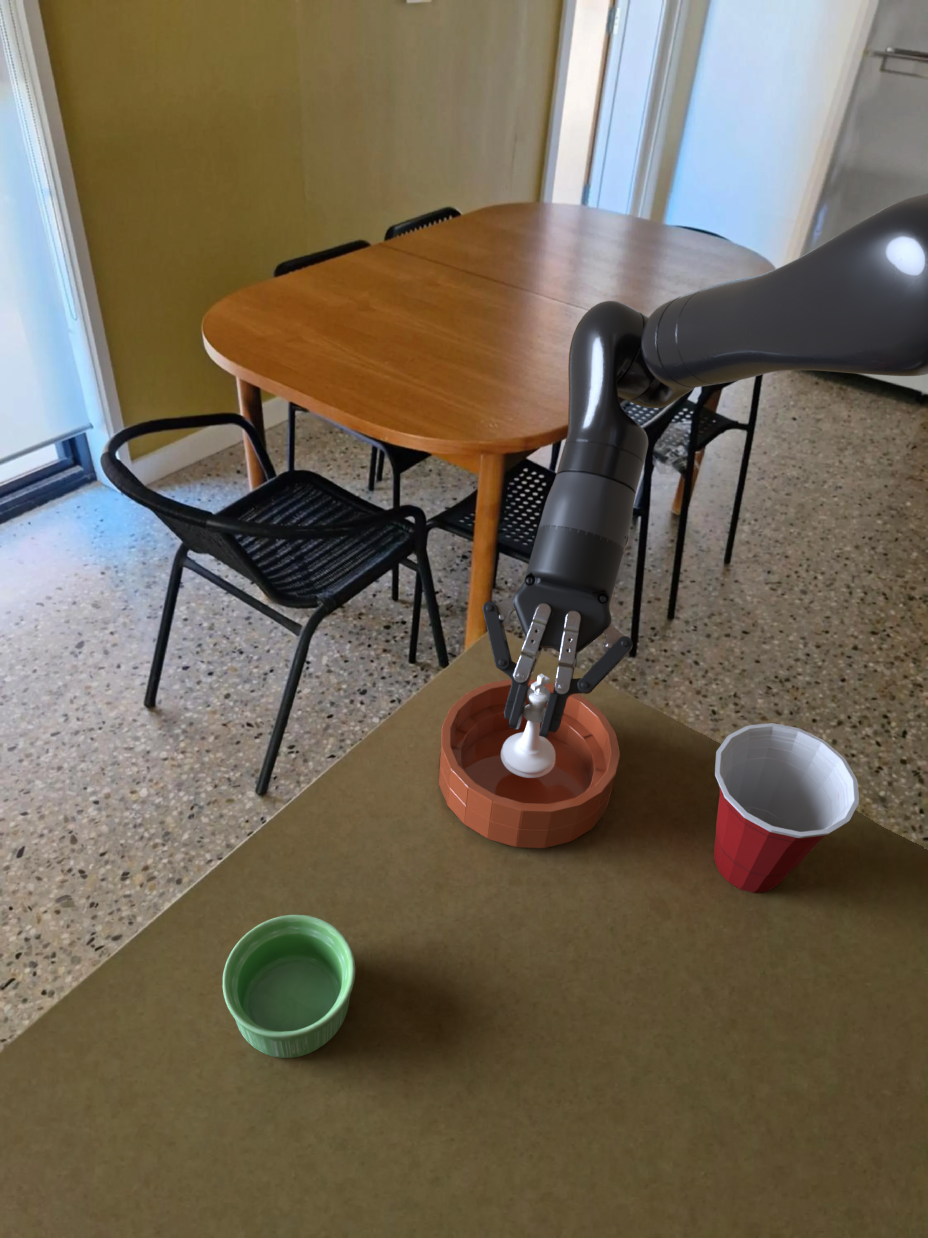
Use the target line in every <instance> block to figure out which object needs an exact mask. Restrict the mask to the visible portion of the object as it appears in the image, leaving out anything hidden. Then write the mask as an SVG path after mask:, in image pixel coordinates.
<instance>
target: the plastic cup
mask: <svg viewBox="0 0 928 1238" xmlns="http://www.w3.org/2000/svg"><path fill="white" fill-rule="evenodd" d="M714 776H715V778H716V781H717V783H718V788H719V799H718V805H717V806H718V807H717V815H716V824H715V840H714V849H713V857H714V863H715V866H716V869H717V871H718V873H719V874H720V875H721V876H722V877H723V879H725V880H726V881H727V883H729V884H731V885H732V886H734V887H735V888H738V889H739V890H742V891H745V892H748V893H749V892H750V893H754V894H756V893H767V892H769V891H771V890H773V889H774V888H776V887H777V886H779V885H780V884H781V883H782V882H783V881H784V880H785V879H786V878H787V876H789V874H790V873H791V872H792V871H793V870H795V869H797V867H798V866H799V865H800V864H801V863H802V862H803V860H804V859H805V858H806V857H807V856H808V855H809V854H810V853H811V852H812V850H813V849H815V847H816V846H817V845H818V844H819V842H821V840H823V838H825V837H827V836H828V835H829V834H831V833H833V832H834V831H836V830H838V829H839V828H841V827H843V826H844V825H846V824H848V823H849V822H850V821H851V819H852V817H853V815H854V813H855V811H856V809H857V807H858V805H859V804H860V795H859V783H858V782H859V781H858V779H857V777H856V775H855V773H854V771H853V769H852V768H851V766H850V764H849V763H848V762H847V760H846V758H845V757H844V756H843V755H841V754H840V752H838V751H837V750H836V749H835V748H834V747H833V746H832V745H830V744H829V743H828V742H827V741H826V740H824V739H822V738H820V737H818V736H816V735H814V734H812V733H810V732H808V731H806V730H803V729H802V728H799V727H796V726H795V727H794V726H789V725H785V724H780V723H775V722H769V723H759V724H750V725H745V726H743V727H742V728H739V729H738V730H736V731H733V732H732V733H730V734H728V735H727V736H726V738H725V739H724V740H723V742H722V743H721V744H720V745H719V747H718V749H717V750H716V751H715V766H714Z"/></svg>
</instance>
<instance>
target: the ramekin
mask: <svg viewBox="0 0 928 1238" xmlns="http://www.w3.org/2000/svg"><path fill="white" fill-rule="evenodd" d="M355 979H356V962H355V956H354V952H353V950H352V948H351V945H350V944H349V941H348V939H347V938H346V937H345V936H344V934H343V933H342V932H341V931H340V930H339V929H338V928H337V927H335V926H334V925H332V924H331V923H329V922H328V921H326V920H323V919H322V918H319V917H316V916H312V915H308V914H307V915H306V914H287V915H280V916H277V917H272V918H271V919H268V920H266V921H263V922H261V923H260V924H258V925H256V926H255V927H253V928H252V929H250V930H249V931H248V932H246V933H245V935H243V936H241V938H240V939H239V941H238V942H237V943H236V944H235V946H234V947H233V949H232V950H231V951H230V953H229V955H228V957H227V959H226V962H225V965H224V968H223V974H222V993H223V998H224V1001H225V1004H226V1007H227V1009H228V1011H229V1013H230V1014H231V1016H232V1017H233V1018H234V1020H235V1023H236V1025H237V1028H238V1030H239V1032H240V1034H241V1035H242V1037H243V1038H244V1039H245V1041H246V1042H247V1043H248V1044H249V1045H250V1046H252V1047H253V1048H254V1049H256V1050H257V1051H259V1052H260V1053H263V1054H264V1055H267V1056H270V1057H275V1058H280V1059H289V1058H290V1059H292V1058H293V1059H294V1058H299V1057H302V1056H305V1055H308V1054H310V1053H312V1052H315V1051H317V1050H318V1049H320V1048H321V1047H323V1046H324V1045H326V1044H327V1043H328V1042H329V1041H330V1040H332V1038H333V1037H334V1036H335V1035H336V1034H337V1032H338V1031H339V1030H340V1028H341V1027H342V1025H343V1024H344V1021H345V1018H346V1016H347V1013H348V1010H349V1006H350V1005H349V1004H350V1001H351V994H352V991H353V988H354V985H355Z"/></svg>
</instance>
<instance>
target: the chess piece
mask: <svg viewBox="0 0 928 1238" xmlns="http://www.w3.org/2000/svg"><path fill="white" fill-rule="evenodd" d="M536 680H537V681H536V682H534V683H533V684H531V687H529V688H528V690H527V698H528V701H529V704H528V705H527V706H526V707H525V708H524V712H523V716H524V717H525V719H527V720H528V722H527V725H526V728H525V731H524V732H521V733H517V734H514V735H512V736H510V737H509V738H508V739H507V740H506V741H505V742H504V744H503V747H502V749H501V760H502V762H503V764H504V766H505V767H506V768H507V769H508V770H509V771H511V772H512V773H514V774H516V775H518V776H521V777H526V778H537V777H541V776H544V775H546V774H547V773H549V772H550V771H551V770H552V768H553V767H554V765H555V750H554V747H553V746H552V744H551V743H550V742H549V741H548V740H547V739H546V738H544V737H542V736H539V732H540V722H542V721H543V717H544V713H545V710H546V708H545V707H544V706H545V704H546V703H547V702H548V698H549V695H550V691H549V690H548V689H547V688H546V687H544V685H546V684H547V683H550V680H551V679H550V677H548V676H547V675H544V674H543V673H539V674H538V675H537V679H536Z"/></svg>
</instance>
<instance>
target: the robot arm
mask: <svg viewBox="0 0 928 1238" xmlns="http://www.w3.org/2000/svg"><path fill="white" fill-rule="evenodd" d="M567 368H568V369H567V371H568V372H567V373H568V409H567V410H568V413H567V423H568V424H567V434H566V438H565V442H564V445H563V448H562V451H561V455H560V459H559V463H558V466H557V471H556V475H555V478H554V481H553V483H552V486H551V488H550V490H549V492H548V495H547V497H546V500H545V503H544V507H543V510H542V514H541V517H540V522H539V525H538V528H537V533H536V535H535V540H534V543H533V547H532V550H531V554H530V558H529V561H528V565H527V569H526V573H525V576H524V578H523V579H524V580H523V582H522V584H521V585H520V587H519V588H518V589H517V590H516V591H515V593H514V594H513V596H512V598H510V599H506V600H505V599H504V600H501V601H497V602H493V601H491V600H488V601H485V602H484V603H483V606H482V613H483V618H484V623H485V626H486V630H487V631H486V632H487V634H488V635H487V636H488V640H489V644H490V647H491V652H492V656H493V660H494V664H495V667H496V668H497V669H499V670H500V671H501V672H503V674H505V675H507V676H508V677H509V679H511V681H512V684H511V688H510V692H509V696H508V699H507V703H506V707H505V710H504V716H505V719H508V720H510V721H509V727H510V728H514V729H519V727H520V723H521V720H522V716H523V712H524V708H525V705H526V701H527V690H528V688H529V687H528V684H529V681H530V680H532V676H533V674H534V671H535V668H536V666H537V663H538V661H539V659H540V656H541V654H542V652H543V649H553V650H555V651H556V652H558V653H559V658H558V664H557V670H556V677H555V683H554V684H555V686H554V690H553V693H550V695H549V698H548V702H547V706H546V710H545V713H544V717H543V721H542V725H541V728H540V732H539V736H542V737H545V738H548V737H549V735H550V731H551V732H554V733H556V732H557V730H558V729H559V728H560V724H561V721H562V717H563V713H564V709H565V706H566V702H567V699H568V698H569V696H571V695H573V694H579V695H581V694H585V695H587V694H590V693H592V691H594V690H595V688H596V687H597V686H598V685H599V684H600V683H601V682H602V681H603V680H604V679H605V678H606V677H607V676H608V675H609V674H610V673H611V672H612V671H613V670H614V669H615V668H616V667H617V665H619V664H620V662H621V661H622V660H623V659H624V658H626V656H627V655H628V654H629V653H630V652H631V651H632V649H633V640H632V638H631V637H629V636H627V635H624V634H623V633H622V632H621V631H620V630H618V629H617V627H616V626H614V625H613V624H612V613H611V609H610V605H611V601H612V597H613V594H614V590H615V586H616V582H617V578H618V575H619V571H620V566H621V563H622V560H623V554H624V552H625V548H626V546H627V544H628V541H629V533H630V529H631V525H632V521H633V515H634V506H635V501H636V500H635V499H636V496H637V495H636V494H637V490H638V486H639V483H640V479H641V475H642V472H643V468H644V465H645V461H646V457H647V452H648V448H649V437H648V435H647V432H646V430H645V429H644V428H643V427H642V426H641V425H640V424H639V423H638V422H637V421H635V419H633V418H632V417H631V416H630V415H629V414H628V413H627V412H626V411H625V410H624V408H623V407H622V406H621V403H620V399H622V400H625V401H627V402H630V403H631V404H633V405H636V406H639V407H643V408H648V409H661V408H666V407H668V406H669V405H671V404H673V403H675V402H676V401H677V400H679V399H680V398H682V397H684V396H685V395H686V394H689V393H690V392H691V391H693V390H694V389H695V388H696V389H697V388H701V387H709V386H713V385H714V386H715V385H720V384H727V383H732V382H738V381H742V380H747V379H751V378H755V377H759V376H762V375H766V374H771V373H776V372H777V373H778V372H786V371H787V372H788V371H823V372H834V373H846V374H859V375H872V376H873V375H874V376H889V377H918V376H925V375H928V193H923V194H919V195H915V196H911V197H906V198H904V199H901V200H899V201H896V202H894V203H892V204H890V205H889V206H886V207H884V208H882V209H881V210H879V211H876V212H875V213H874V214H871V215H870V216H868V217H865V218H864V219H863V220H861V221H859V222H858V223H856V224H855V225H852V226H851V227H850V228H849V227H848V229H846V230H844V231H843V232H841V233H839V234H837V235H835V236H834V237H832V238H831V239H829V240H827V241H825V242H824V243H822V244H820V245H819V246H817V247H816V248H814V249H812V250H811V251H809V252H807V253H805V254H804V255H801V256H800V257H798V258H796V259H794V260H791V261H790V262H788V263H786V264H783V265H781V266H779V267H777V268H775V269H773V270H770V271H768V272H765V273H762V274H759V275H755V276H749V277H743V278H738V279H733V280H729V281H726V282H722V283H718V284H715V285H712V286H707V287H705V288H702V289H698V290H695V291H693V292H689V293H687V294H686V293H685V294H683V295H681V296H678V297H675V298H672V299H670V300H668V301H666V302H664V303H663V304H661V305H660V306H658V307H657V308H656V309H654V311H652V312H651V314H650V315H649V316H648V315H646V314H644V313H642V312H640V311H639V310H636V309H635V308H633V307H632V306H629V305H627V304H625V303H623V302H620V301H616V300H604V301H601V302H599V303H597V304H595V305H593V306H592V307H591V308H589V309H588V310H587V312H585V314H584V315H583V316H582V317H581V319H579V322H578V323H577V325H576V327H575V330H574V332H573V335H572V337H571V341H570V346H569V352H568V367H567ZM619 398H620V399H619ZM514 612H515V613H516V616H517V618H518V621H519V624H520V626H521V629H522V631H523V634H524V636H525V640H524V643H523V645H522V648H521V651H520V656H519V659H518V660H517V663H516V662H515V661H513V660H512V659H513V658H512V655H511V650H510V646H509V642H508V638H507V633H506V630H505V627H508V626H509V625H510V623H511V621H512V617H511V616H512V614H513V613H514ZM603 634H604V635H605V639H604V641H603V642H602V645H601V647H602V651H603V652H604V654H603V655H602V656H601V657H600V658H599V659H598V660H597V661H596V662H595V663H594V664H593V665H592V666H591V667H590V669H589V670H588V671H587V672H586V673H585V674H584V675H583V676H582V677H579V678H574V673H575V669H576V664H577V659H578V653H580V652H581V651H583V650H584V649H586V647H588V646H589V645H590V644H592V643H593V642H594V641H596V640H597V639H598V638H599V637H600V636H602V635H603Z"/></svg>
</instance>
